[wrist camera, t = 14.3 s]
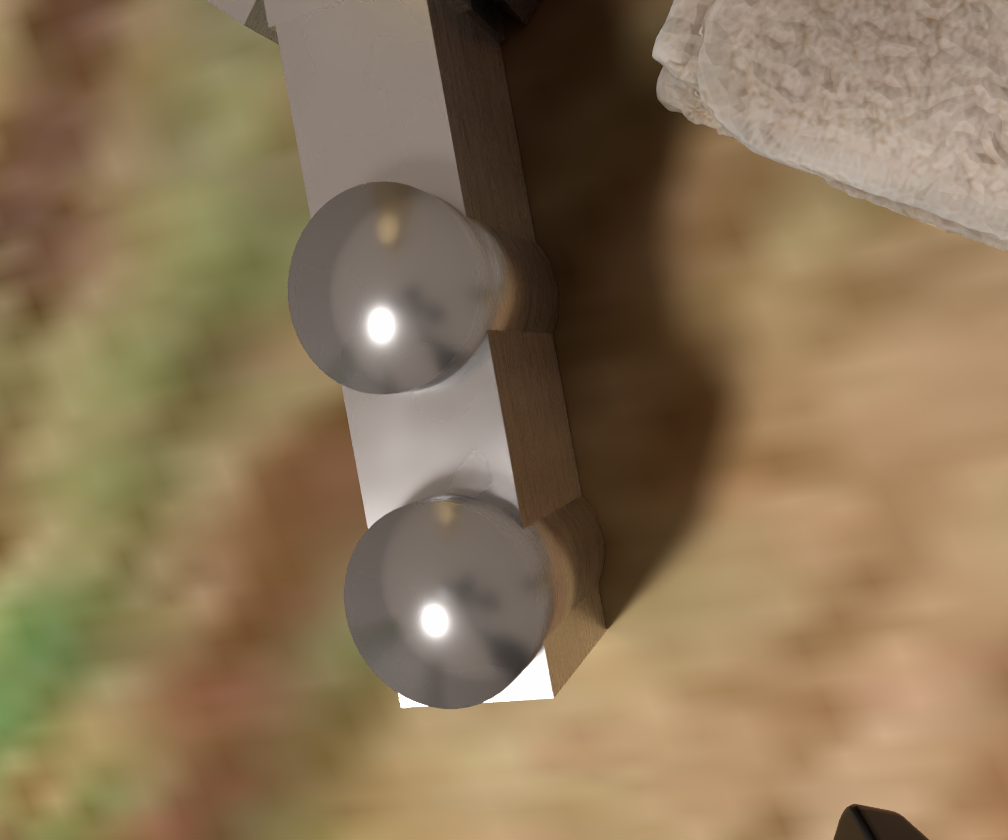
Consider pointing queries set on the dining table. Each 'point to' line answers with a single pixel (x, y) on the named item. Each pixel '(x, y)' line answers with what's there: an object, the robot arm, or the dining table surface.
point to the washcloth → (857, 97)
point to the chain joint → (437, 347)
